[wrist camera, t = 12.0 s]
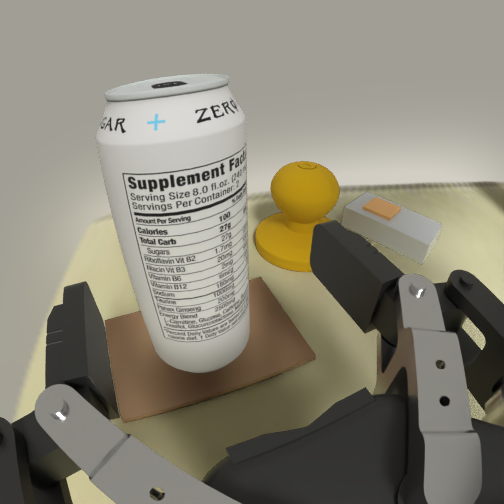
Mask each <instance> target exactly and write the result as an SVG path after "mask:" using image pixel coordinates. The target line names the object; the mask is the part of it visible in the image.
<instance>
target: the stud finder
mask: <svg viewBox="0 0 504 504" xmlns="http://www.w3.org/2000/svg"><path fill="white" fill-rule="evenodd" d="M341 225H342V226H343V227H345V228H347V229H349V230H352V231H354V232H356V233H358V234H360V235H362V236H364V237H367V238H369V239H371V240H373V241H375V242H377V243H379V244H381V245H383V246H385V247H387V248H389V249H391V250H393V251H395V252H398V253H400V254H402V255H404V256H406V257H408V258H410V259H412V260H414V261H416V262H418V263H419V264H421V265H422V264H423V263H424V261H425V259H426V258H427V256H428V255H429V253H430V252H431V250H432V248H433V247H434V245H435V244H436V242H437V239H438V236H439V233H440V231H441V228H442V224H441V223H438V222H436V221H434V220H432V219H430V218H428V217H425V216H423V215H421V214H419V213H417V212H414V211H412V210H410V209H407V208H405V207H403V206H401V205H398V204H396V203H394V202H391V201H389V200H386V199H384V198H382V197H379V196H377V195H374V194H372V193H369V192H365V193H364V194H362V195H361V196H359V197H358V198H356V199H355V200H353V201H352V202H350V203H349V204H347V205H346V206H344V211H343V217H342V223H341Z"/></svg>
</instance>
